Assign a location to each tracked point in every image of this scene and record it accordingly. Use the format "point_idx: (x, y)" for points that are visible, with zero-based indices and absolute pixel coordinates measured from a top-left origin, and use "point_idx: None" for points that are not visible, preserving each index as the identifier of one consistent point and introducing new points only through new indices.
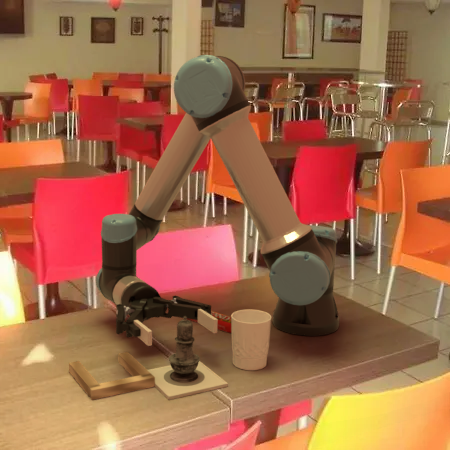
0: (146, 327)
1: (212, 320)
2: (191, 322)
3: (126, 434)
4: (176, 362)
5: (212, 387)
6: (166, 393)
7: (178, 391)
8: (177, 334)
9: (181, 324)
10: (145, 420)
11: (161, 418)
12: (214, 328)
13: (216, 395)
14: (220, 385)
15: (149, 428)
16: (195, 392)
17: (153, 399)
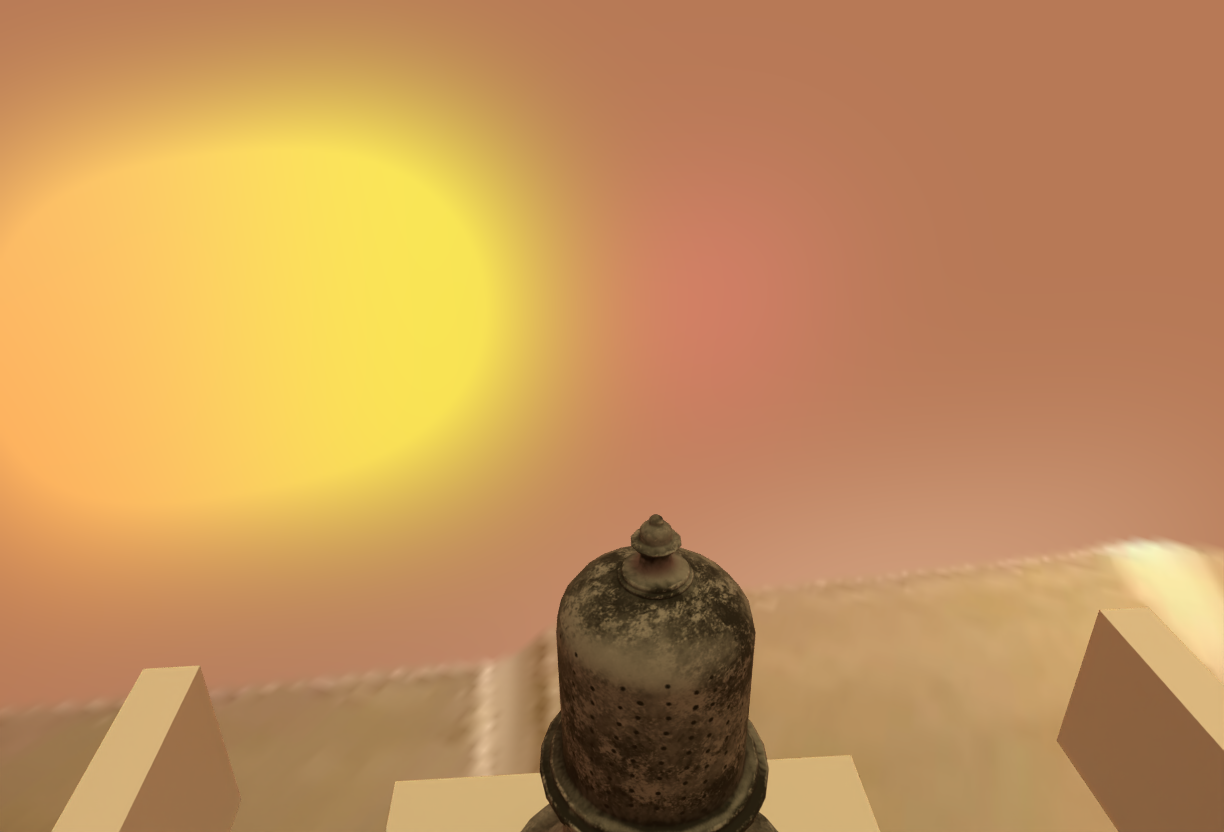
0: (1209, 723)
1: (188, 718)
2: (579, 573)
3: (1087, 574)
4: (760, 828)
5: (520, 778)
6: (860, 799)
7: (770, 796)
8: (748, 711)
9: (718, 568)
10: (1000, 635)
11: (914, 627)
12: (221, 752)
13: (537, 726)
14: (456, 781)
15: (977, 581)
16: None
17: (953, 813)
